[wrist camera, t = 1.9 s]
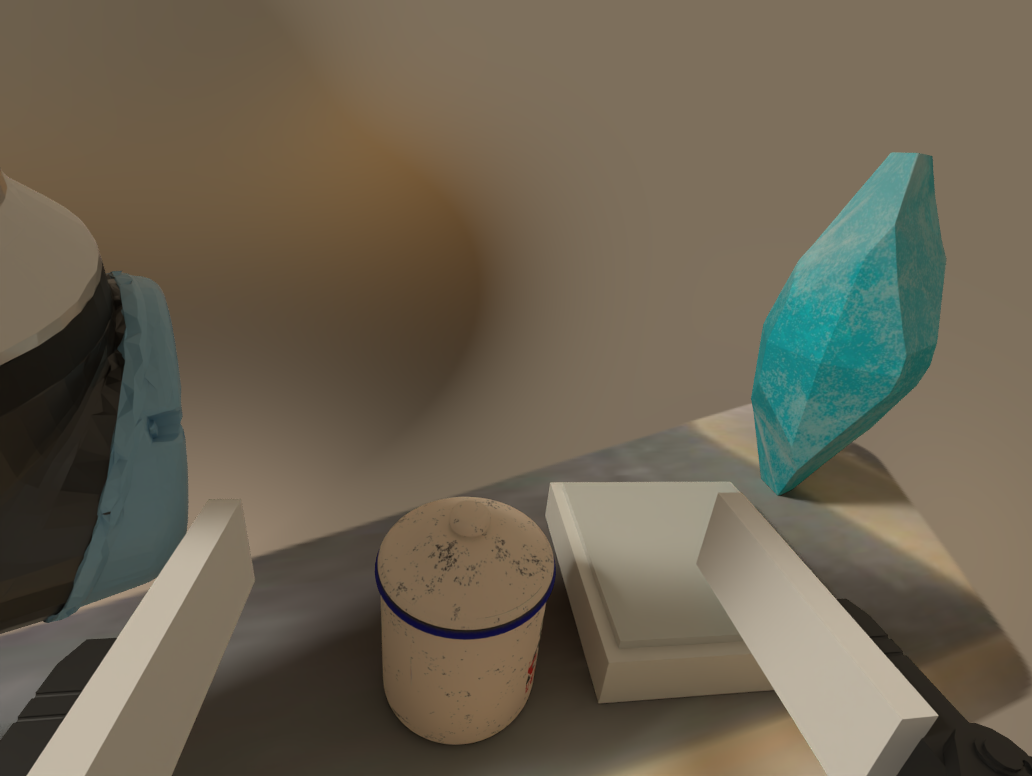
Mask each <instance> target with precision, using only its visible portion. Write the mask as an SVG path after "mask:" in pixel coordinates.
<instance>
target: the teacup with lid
mask: <svg viewBox="0 0 1032 776" xmlns="http://www.w3.org/2000/svg"><path fill="white" fill-rule="evenodd" d="M555 575H556V567H555V560H554V556H553V553H552V549H551V546H550V544H549V542H548V540H547V538H546V536H545V535H544V533H543V532H542V530H541V529H540V528H539V527H538V525H537V524H536V523H535V522H534V521H532V520H531V519H530V518H529V517H528V516H526V515H525V514H523V513H522V512H520V511H519V510H517V509H515V508H513V507H511V506H509V505H506V504H504V503H501V502H498V501H494V500H490V499H484V498H477V497H454V498H446V499H441V500H437V501H433V502H430V503H427V504H425V505H422V506H420V507H418V508H416V509H414V510H413V511H411V512H409V513H408V514H406V515H405V516H403V517H402V518H401V519H400V520H399V521H398V522H397V523H396V524H395V525H394V526H393V527H392V528H391V529H390V531H389V532H388V533H387V535H386V537H385V538H384V540H383V542H382V544H381V547H380V549H379V551H378V554H377V557H376V563H375V578H376V583H377V587H378V590H379V592H380V595H381V625H382V663H383V684H384V690H385V694H386V697H387V700H388V702H389V704H390V707H391V708H392V710H393V712H394V713H395V715H396V716H397V717H398V719H399V720H400V721H401V722H402V723H403V724H404V725H405V726H406V727H408V728H409V729H410V730H411V731H413V732H414V733H416V734H417V735H419V736H421V737H423V738H425V739H428V740H431V741H434V742H438V743H443V744H453V745H459V744H469V743H474V742H478V741H481V740H484V739H486V738H489V737H491V736H493V735H495V734H496V733H498V732H500V731H501V730H503V729H504V728H505V727H506V726H508V725H509V724H510V723H511V722H512V721H513V720H514V719H515V718H516V717H517V715H518V714H519V713H520V712H521V710H522V709H523V707H524V705H525V703H526V701H527V700H528V697H529V694H530V692H531V688H532V685H533V679H534V673H535V667H536V661H537V654H538V648H539V642H540V636H541V630H542V624H543V618H544V612H545V606H546V601H547V600H548V598H549V596H550V594H551V592H552V589H553V586H554V582H555Z"/></svg>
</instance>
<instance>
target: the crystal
mask: <svg viewBox="0 0 1032 776" xmlns="http://www.w3.org/2000/svg"><path fill="white" fill-rule="evenodd" d="M934 190H935V189H934V176H933V159H932V156H929V155H925V154H920V153H891V154H890V155H889V156H888V157H887V158H886V159H885V161H884V162H883V163H882V164H881V165H880V167H879V168H878V169H877V170H876V171H875V172H874V174H873V175H872V176H871V177H870V178H869V179H868V181H867V182H866V183H865V184H864V185H863V186H862V188H861V189H860V190H859V191H858V192H857V194H856V195H855V196H854V197H853V198H852V199H851V201H850V202H849V203H848V204H847V205H846V207H845V208H844V209H843V210H842V211H841V212H840V214H839V215H838V216H837V217H836V218H835V219H834V221H833V222H832V223H831V224H830V225H829V226H828V228H827V229H826V230H825V231H824V232H823V234H822V235H821V236H820V237H819V238H818V239H817V241H816V242H815V243H814V244H813V245H812V247H811V248H810V249H809V250H808V251H807V252H806V253H805V254H804V255H803V256H802V258H801V259H800V260H799V261H798V263H797V265H796V266H795V268H794V270H793V272H792V273H791V275H790V277H789V279H788V280H787V282H786V284H785V286H784V287H783V289H782V291H781V293H780V295H779V297H778V298H777V300H776V302H775V304H774V305H773V307H772V309H771V311H770V313H769V314H768V316H767V318H766V320H765V322H764V324H763V330H762V336H761V342H760V348H759V354H758V360H757V367H756V373H755V378H754V385H753V390H752V396H751V400H752V405H753V411H754V419H755V428H756V437H757V446H758V455H759V464H760V473H761V479H762V480H763V481H764V482H765V483H766V484H767V485H768V486H769V487H770V488H771V489H772V490H773V491H774V492H775V493H776V494H777V495H782V494H784V493H786V492H788V491H790V490H792V489H794V488H795V487H796V486H797V485H799V484H800V483H801V482H802V481H803V480H805V479H806V478H807V477H808V476H810V475H811V474H812V473H813V472H814V471H816V470H817V469H818V468H819V467H821V466H822V465H823V464H824V463H826V462H827V461H828V460H830V459H831V458H832V457H833V456H835V455H836V454H837V453H838V452H840V451H841V450H842V449H844V448H845V447H846V446H847V445H849V444H850V443H851V442H853V441H854V440H855V439H857V438H858V437H859V436H861V435H862V434H863V433H865V432H866V431H868V430H869V429H870V428H871V427H872V426H873V425H874V424H876V422H878V421H879V420H880V419H881V418H882V417H883V416H884V415H885V414H886V413H887V412H888V411H889V410H891V409H892V407H894V406H895V405H896V404H897V403H898V402H899V401H900V400H901V399H902V398H904V397H905V396H906V395H907V394H908V393H909V392H910V391H911V390H912V389H913V388H914V387H915V386H917V384H918V383H919V381H920V380H921V378H922V377H923V375H924V374H925V372H926V371H927V369H928V368H929V366H930V363H931V361H932V357H933V354H934V351H935V348H936V344H937V338H938V329H939V319H940V310H941V300H942V291H943V282H944V274H945V265H946V256H945V252H944V248H943V244H942V240H941V233H940V227H939V219H938V213H937V206H936V200H935V191H934Z"/></svg>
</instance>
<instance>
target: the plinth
mask: <svg viewBox="0 0 1032 776" xmlns="http://www.w3.org/2000/svg"><path fill="white" fill-rule="evenodd" d="M732 492H739V491H738V490H737V489H736V488H735V486H734V485H733V484H732V483H731V482H559V483H550V488H549V495H548V501H547V508H546V515H545V516H546V520H547V523H548V527H549V530H550V534H551V537H552V541H553V545H554V548H555V552H556V555H557V559H558V562H559V566H560V569H561V573H562V576H563V580H564V583H565V587H566V591H567V594H568V598H569V601H570V605H571V608H572V612H573V615H574V619H575V622H576V626H577V629H578V633H579V637H580V640H581V644H582V647H583V651H584V654H585V658H586V661H587V665H588V668H589V672H590V675H591V679H592V683H593V686H594V690H595V693H596V697H597V700H598V704H599V703H612V702H625V701H638V700H651V699H664V698H677V697H690V696H703V695H715V694H728V693H741V692H754V691H767V690H774V688H773V687H772V685H771V684H770V682H769V680H768V679H767V677H766V676H765V674H764V672H763V671H762V669H761V667H760V666H759V664H758V663H757V661H756V659H755V658H754V656H753V655H752V653H751V651H750V650H749V648H748V647H747V645H746V643H745V642H744V640H743V638H742V637H741V635H740V634H739V632H738V630H737V629H736V627H735V626H734V624H733V622H732V621H731V619H730V617H729V616H728V614H727V613H726V611H725V609H724V608H723V606H722V605H721V603H720V601H719V600H718V598H717V597H716V595H715V593H714V592H713V590H712V588H711V587H710V585H709V584H708V582H707V580H706V579H705V577H704V576H703V574H702V572H701V571H700V569H699V568H698V566H697V564H696V563H697V559H698V556H699V553H700V550H701V546H702V543H703V540H704V537H705V533H706V530H707V527H708V524H709V520H710V517H711V514H712V511H713V507H714V504H715V501H716V497H717V494H718V493H732Z"/></svg>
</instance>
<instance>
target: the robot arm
mask: <svg viewBox="0 0 1032 776" xmlns="http://www.w3.org/2000/svg"><path fill="white" fill-rule="evenodd" d="M121 272H122V271H113V272H110V273H107V274H106V273H105V270H104V266H103V263H102V259H101V256H100V252H99V249H98V246H97V243H96V241H95V239H94V238H93V236H92V235H91V233H90V231H89V230H88V228H87V227H86V226H85V225H84V223H83V222H82V221H81V220H80V219H79V218H78V217H77V216H75V215H74V214H73V213H71V212H70V211H69V210H68V209H66V208H65V207H63V206H62V205H60V204H58V203H56V202H55V201H53V200H51V199H49V198H48V197H46V196H44V195H42V194H40V193H38V192H36V191H34V190H32V189H30V188H28V187H27V186H25V185H22V184H21V183H19V182H17V181H15V180H13V179H11V178H9V177H8V176H6V175H5V174H4V173H3V172H2V170H1V168H0V634H2V633H5V632H8V631H12V630H15V629H18V628H22V627H25V626H28V625H31V624H35V623H38V622H41V621H43V622H46V623H49V622H54V621H58V620H62V619H64V618H67V617H68V616H70V615H71V614H73V613H75V612H76V611H77V610H78V609H79V608H80V607H82V606H84V605H87V604H90V603H93V602H96V601H98V600H101V599H104V598H107V597H109V596H112V595H115V594H118V593H120V592H123V591H126V590H129V589H132V588H134V587H137V586H140V585H143V584H145V583H147V582H150V581H151V580H153V579H155V578H156V580H155V582H154V583H153V585H152V586H151V588H150V589H149V591H148V592H147V594H146V595H145V597H144V598H143V600H142V601H141V603H140V604H139V606H138V607H137V609H136V610H135V612H134V613H133V615H132V616H131V618H130V620H129V621H128V623H127V624H126V626H125V627H124V629H123V630H122V632H121V633H120V635H119V636H118V638H108V639H89V640H86V641H84V642H83V643H82V644H81V645H80V646H78V647H77V648H76V649H75V650H74V651H72V652H71V653H70V654H69V655H68V656H66V657H65V658H64V659H63V660H62V661H60V662H59V663H58V664H57V665H56V666H55V668H54V669H53V670H52V672H51V673H50V674H49V676H48V677H47V678H46V680H45V681H44V683H43V684H42V685H41V687H40V688H39V689H38V691H37V692H36V696H35V698H34V699H31V700H30V701H29V703H28V704H27V705H26V707H25V708H24V709H23V711H22V712H21V714H20V715H19V716H18V720H17V722H16V723H13V724H12V726H11V727H10V728H9V730H8V731H7V732H6V734H5V735H4V736H3V738H2V739H1V740H0V776H172V774H173V771H174V769H175V767H176V764H177V762H178V759H179V757H180V755H181V752H182V750H183V748H184V745H185V743H186V741H187V738H188V736H189V734H190V731H191V729H192V727H193V724H194V722H195V720H196V717H197V715H198V713H199V710H200V708H201V706H202V703H203V701H204V699H205V696H206V694H207V692H208V689H209V687H210V685H211V682H212V680H213V678H214V675H215V673H216V670H217V668H218V666H219V663H220V661H221V659H222V656H223V654H224V652H225V649H226V647H227V645H228V642H229V640H230V638H231V635H232V633H233V631H234V628H235V626H236V624H237V621H238V619H239V617H240V614H241V612H242V610H243V607H244V605H245V603H246V600H247V598H248V596H249V593H250V591H251V588H252V586H253V584H254V581H255V577H254V571H253V565H252V560H251V554H250V548H249V542H248V536H247V531H246V525H245V519H244V513H243V507H242V501H241V499H209V500H208V501H207V503H206V504H205V506H204V507H203V509H202V510H201V512H200V513H199V515H198V516H197V518H196V519H195V521H194V522H193V524H192V525H191V527H190V528H189V530H188V532H187V533H186V531H187V523H188V469H187V468H188V467H187V455H186V444H185V443H186V441H185V436H184V431H183V428H182V426H181V424H180V422H181V419H182V408H181V383H180V374H179V367H178V359H177V352H176V345H175V339H174V334H173V328H172V323H171V318H170V314H169V310H168V306H167V303H166V299H165V296H164V294H163V292H162V290H161V288H160V287H159V286H158V284H157V283H155V282H154V281H152V280H151V279H149V278H145V277H140V276H131V275H129V274H127V273H121ZM696 564H697V566H698V568H699V569H700V571H701V572H702V574H703V576H704V577H705V579H706V580H707V582H708V584H709V585H710V587H711V588H712V590H713V592H714V593H715V595H716V597H717V598H718V600H719V601H720V603H721V605H722V606H723V608H724V609H725V611H726V613H727V614H728V616H729V617H730V619H731V621H732V622H733V624H734V626H735V627H736V629H737V630H738V632H739V634H740V635H741V637H742V638H743V640H744V642H745V643H746V645H747V647H748V648H749V650H750V651H751V653H752V655H753V656H754V658H755V659H756V661H757V663H758V664H759V666H760V667H761V669H762V671H763V672H764V674H765V676H766V677H767V679H768V680H769V682H770V684H771V685H772V687H773V688H774V690H775V692H776V693H777V695H778V696H779V698H780V700H781V701H782V703H783V705H784V706H785V708H786V709H787V711H788V713H789V714H790V716H791V717H792V719H793V721H794V722H795V724H796V725H797V727H798V729H799V730H800V732H801V734H802V735H803V737H804V738H805V740H806V742H807V743H808V745H809V746H810V748H811V750H812V751H813V753H814V754H815V756H816V758H817V759H818V761H819V763H820V764H821V766H822V767H823V769H824V771H825V772H826V774H827V775H828V776H1032V757H1031V756H1028V755H1027V754H1026V753H1025V752H1024V751H1023V750H1022V749H1021V748H1019V747H1018V746H1017V745H1016V744H1014V743H1013V742H1012V741H1011V740H1010V739H1008V738H1006V737H1005V736H1003V735H1001V734H999V733H998V732H996V731H994V730H993V729H990V728H988V727H985V726H982V725H979V724H976V723H969V722H968V721H967V720H966V719H965V718H964V717H963V716H962V715H961V714H960V713H959V712H958V711H957V710H956V709H955V708H954V706H953V705H952V704H951V703H950V702H949V701H948V700H947V699H946V698H945V697H944V696H943V695H942V693H941V692H940V691H939V690H938V689H937V688H936V687H935V686H934V685H933V684H932V683H931V682H930V680H929V679H928V678H927V677H926V676H925V675H924V674H923V673H922V672H921V671H920V670H919V669H918V667H917V666H916V665H915V664H914V663H913V662H912V661H911V660H910V659H909V658H908V657H907V656H904V655H903V653H902V652H903V651H902V650H901V649H900V648H899V647H898V646H897V645H896V644H895V643H894V641H893V640H892V639H888V635H887V634H886V633H885V632H884V631H883V630H882V629H881V627H880V626H879V625H878V624H877V623H876V622H875V621H874V620H873V619H872V618H871V617H870V616H869V615H868V614H867V613H865V612H864V611H863V610H861V609H860V608H858V607H857V606H856V605H854V604H853V603H852V602H850V601H849V600H847V599H835V598H834V596H833V595H832V594H831V593H830V592H829V591H828V590H827V588H826V587H825V586H824V585H823V584H822V583H821V582H820V581H819V579H818V578H817V577H816V576H815V575H814V574H813V573H812V571H811V570H810V569H809V568H808V567H807V566H806V565H805V564H804V562H803V561H802V560H801V559H800V558H799V557H798V556H797V554H796V553H795V552H794V551H793V550H792V549H791V548H790V547H789V545H788V544H787V543H786V542H785V541H784V540H783V539H782V537H781V536H780V535H779V534H778V533H777V532H776V531H775V530H774V528H773V527H772V526H771V525H770V524H769V523H768V522H767V520H766V519H765V518H764V517H763V516H762V515H761V514H760V513H759V511H758V510H757V509H756V508H755V507H754V506H753V505H752V503H751V502H750V501H749V500H748V499H747V498H746V497H745V496H744V494H743V493H742V492H732V493H718V494H717V497H716V501H715V504H714V507H713V511H712V514H711V517H710V520H709V524H708V527H707V530H706V533H705V537H704V540H703V543H702V546H701V550H700V553H699V556H698V559H697V563H696Z"/></svg>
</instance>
